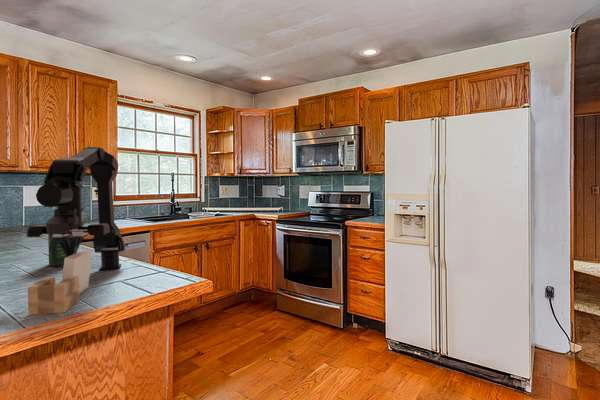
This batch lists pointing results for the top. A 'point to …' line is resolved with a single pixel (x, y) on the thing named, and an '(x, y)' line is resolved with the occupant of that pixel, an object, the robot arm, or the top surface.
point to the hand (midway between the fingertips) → (70, 260)
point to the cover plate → (78, 267)
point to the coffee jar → (56, 252)
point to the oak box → (53, 295)
